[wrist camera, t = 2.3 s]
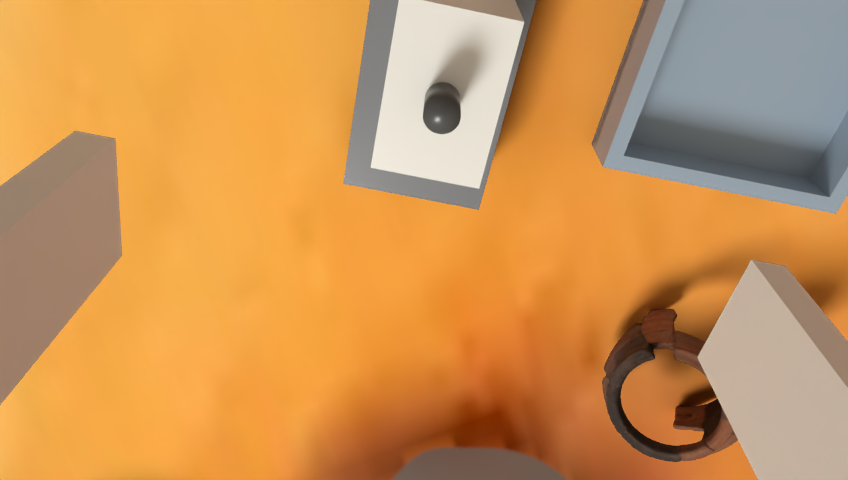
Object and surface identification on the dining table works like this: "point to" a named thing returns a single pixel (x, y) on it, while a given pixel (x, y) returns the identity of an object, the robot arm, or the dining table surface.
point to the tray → (735, 99)
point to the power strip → (369, 110)
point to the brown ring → (697, 418)
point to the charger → (445, 87)
